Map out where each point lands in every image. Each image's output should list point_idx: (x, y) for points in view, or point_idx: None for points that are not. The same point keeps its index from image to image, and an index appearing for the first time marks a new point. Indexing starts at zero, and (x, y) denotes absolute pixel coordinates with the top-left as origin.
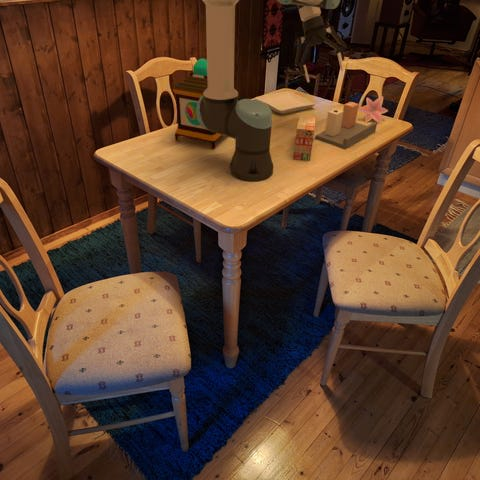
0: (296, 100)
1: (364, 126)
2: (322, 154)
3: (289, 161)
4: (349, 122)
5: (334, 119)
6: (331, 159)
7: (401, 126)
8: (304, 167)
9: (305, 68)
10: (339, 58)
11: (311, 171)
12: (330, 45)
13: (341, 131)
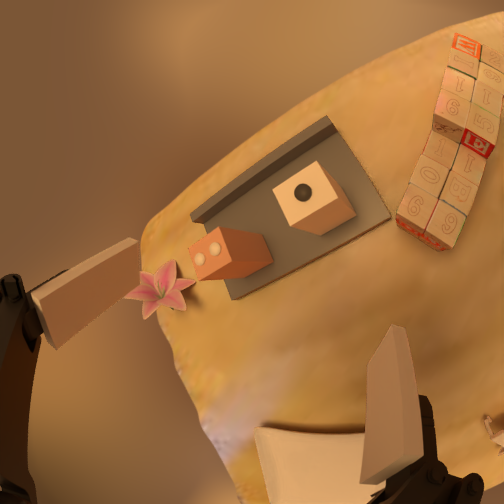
0: (280, 475)
1: None
2: (410, 114)
3: None
4: (252, 233)
5: (326, 172)
6: (395, 86)
7: (151, 233)
8: None
9: (412, 419)
10: (74, 284)
11: None
12: (16, 411)
13: None
